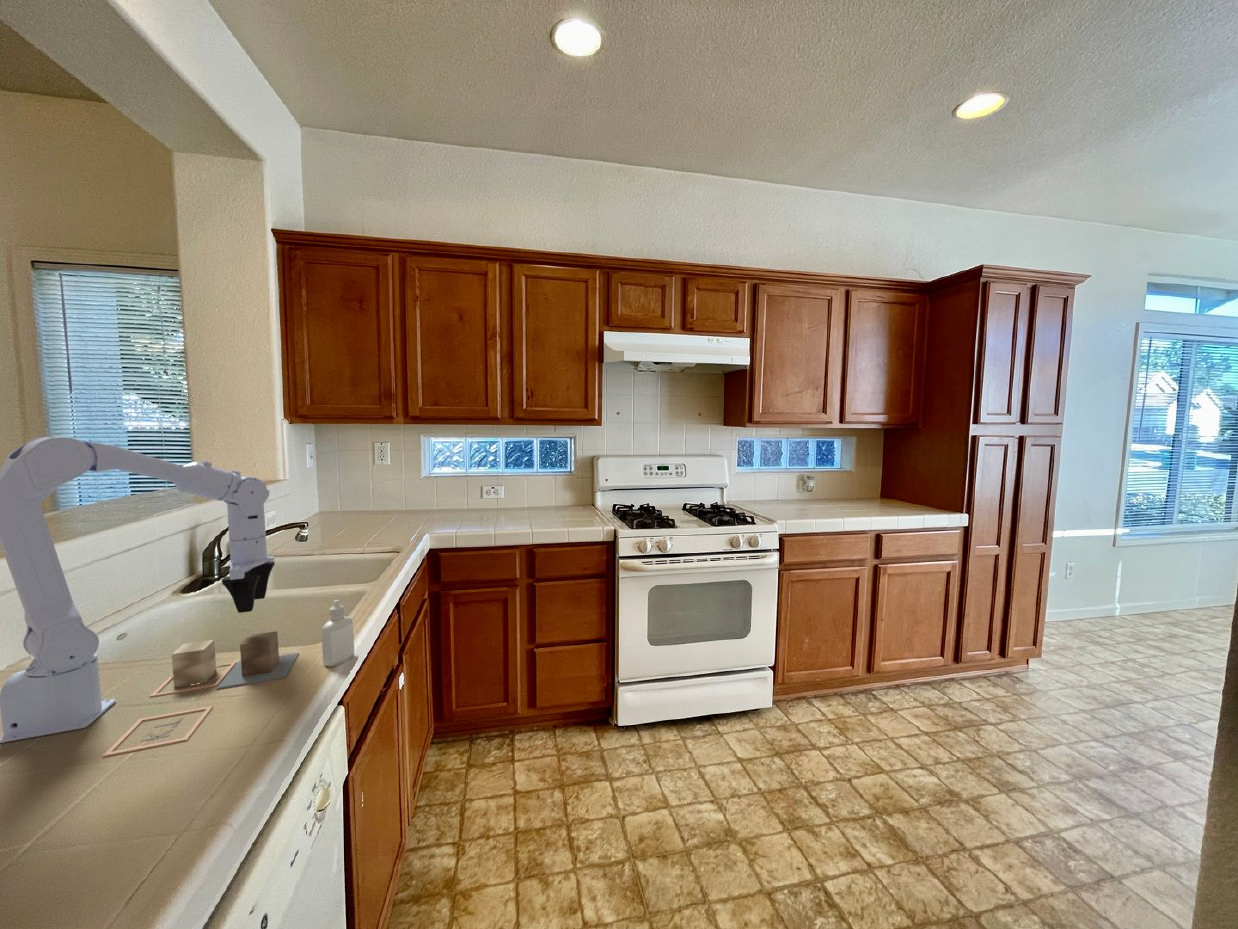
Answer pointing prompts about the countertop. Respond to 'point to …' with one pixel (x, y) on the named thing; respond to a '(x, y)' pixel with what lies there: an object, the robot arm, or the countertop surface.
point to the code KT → (188, 735)
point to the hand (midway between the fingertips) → (252, 605)
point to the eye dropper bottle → (337, 637)
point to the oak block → (193, 663)
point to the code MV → (156, 693)
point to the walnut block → (259, 653)
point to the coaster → (279, 672)
